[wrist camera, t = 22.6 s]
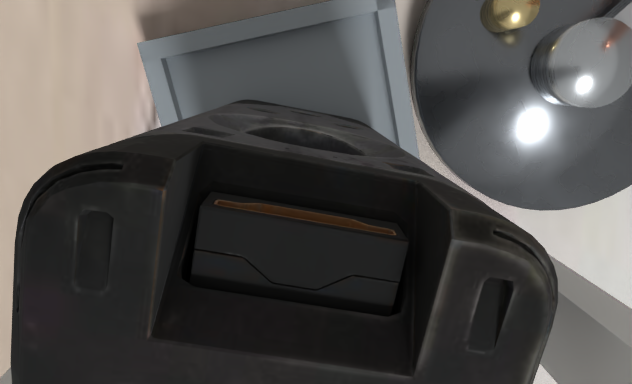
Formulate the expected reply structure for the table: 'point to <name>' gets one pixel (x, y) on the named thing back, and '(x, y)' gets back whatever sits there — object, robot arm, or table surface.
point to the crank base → (514, 105)
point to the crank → (586, 60)
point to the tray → (291, 66)
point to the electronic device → (271, 263)
